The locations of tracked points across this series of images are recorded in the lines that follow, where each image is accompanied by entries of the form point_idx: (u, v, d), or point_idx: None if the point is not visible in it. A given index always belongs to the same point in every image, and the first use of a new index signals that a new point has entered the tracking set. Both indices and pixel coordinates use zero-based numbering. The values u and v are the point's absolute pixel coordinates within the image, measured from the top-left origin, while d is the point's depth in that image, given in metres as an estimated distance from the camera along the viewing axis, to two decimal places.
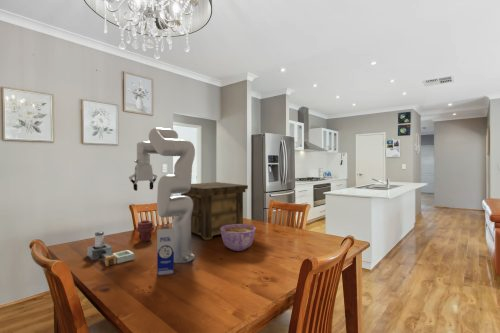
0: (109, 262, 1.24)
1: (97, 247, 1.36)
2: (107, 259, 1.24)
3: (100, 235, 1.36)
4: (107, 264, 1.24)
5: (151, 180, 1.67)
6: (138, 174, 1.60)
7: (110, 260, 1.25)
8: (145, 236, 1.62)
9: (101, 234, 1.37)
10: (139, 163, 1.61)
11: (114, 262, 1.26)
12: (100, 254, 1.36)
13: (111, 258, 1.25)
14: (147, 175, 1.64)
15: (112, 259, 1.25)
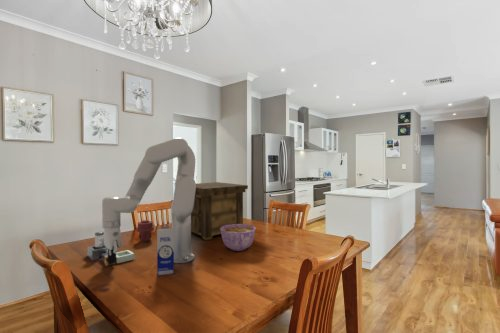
0: None
1: (97, 247, 1.36)
2: (107, 259, 1.24)
3: (100, 235, 1.36)
4: (107, 264, 1.24)
5: None
6: None
7: None
8: (145, 236, 1.62)
9: (101, 234, 1.37)
10: (118, 225, 1.23)
11: None
12: (100, 254, 1.36)
13: None
14: None
15: None
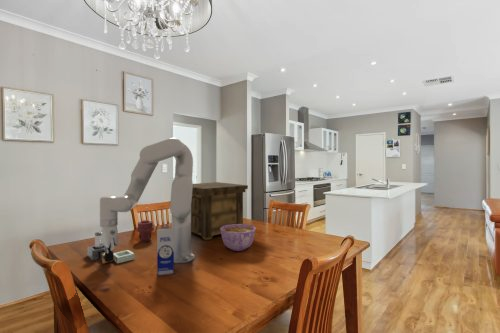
0: None
1: (97, 247, 1.36)
2: (104, 257, 1.27)
3: (100, 235, 1.36)
4: (104, 261, 1.27)
5: None
6: None
7: None
8: (145, 236, 1.62)
9: None
10: (115, 224, 1.25)
11: None
12: None
13: None
14: None
15: None
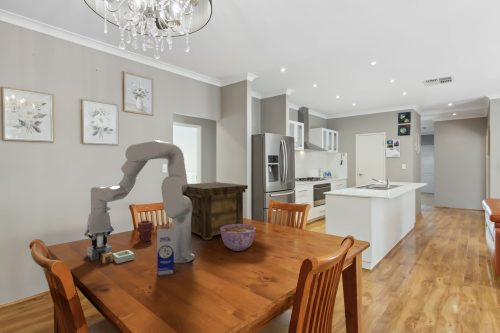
0: (106, 259, 1.28)
1: (97, 247, 1.36)
2: (104, 256, 1.27)
3: (100, 235, 1.36)
4: (104, 261, 1.27)
5: None
6: None
7: (107, 258, 1.28)
8: (145, 236, 1.62)
9: (101, 234, 1.37)
10: None
11: (111, 259, 1.29)
12: None
13: (108, 256, 1.28)
14: None
15: (109, 256, 1.29)
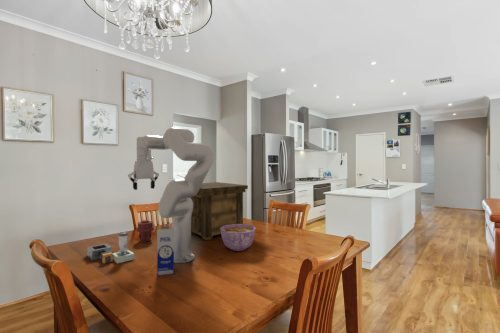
0: (106, 259, 1.28)
1: (121, 248, 1.31)
2: (104, 256, 1.27)
3: (124, 236, 1.31)
4: (104, 261, 1.27)
5: None
6: None
7: (107, 258, 1.28)
8: (145, 236, 1.62)
9: (125, 235, 1.32)
10: None
11: (111, 259, 1.29)
12: None
13: (108, 256, 1.28)
14: None
15: (109, 256, 1.29)
